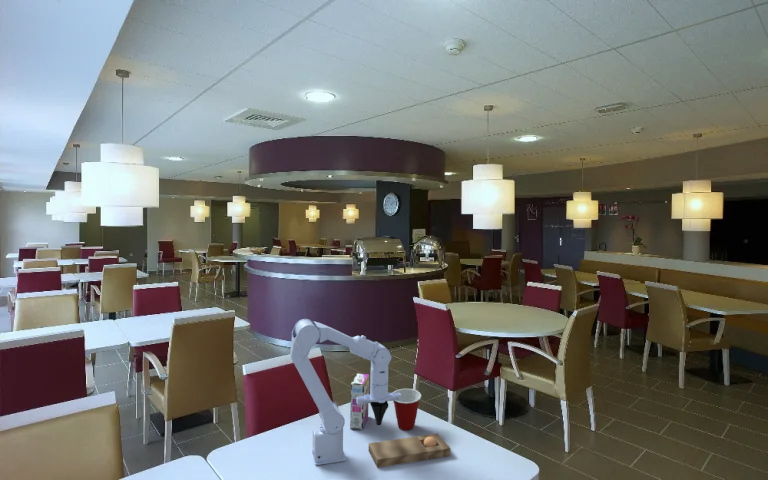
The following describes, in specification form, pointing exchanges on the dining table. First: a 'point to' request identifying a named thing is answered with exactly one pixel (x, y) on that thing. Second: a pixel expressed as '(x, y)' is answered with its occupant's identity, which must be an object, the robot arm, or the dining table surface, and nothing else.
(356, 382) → the candy bar box
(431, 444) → the ball
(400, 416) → the plastic cup
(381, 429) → the dining table surface
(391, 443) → the deck
